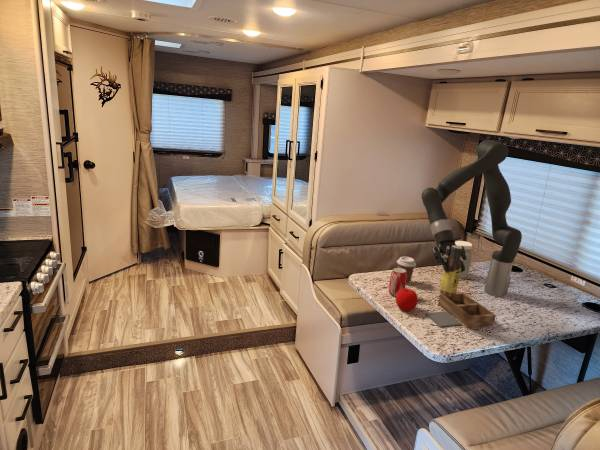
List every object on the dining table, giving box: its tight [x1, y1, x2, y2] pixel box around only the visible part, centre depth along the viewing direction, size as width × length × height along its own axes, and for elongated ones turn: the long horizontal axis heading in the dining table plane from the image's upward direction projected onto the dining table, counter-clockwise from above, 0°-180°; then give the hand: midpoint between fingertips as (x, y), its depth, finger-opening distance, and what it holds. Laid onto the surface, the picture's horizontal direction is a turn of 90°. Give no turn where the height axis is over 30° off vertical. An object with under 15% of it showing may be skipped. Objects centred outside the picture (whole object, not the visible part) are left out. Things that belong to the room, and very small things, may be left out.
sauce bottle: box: [439, 245, 463, 296], centre depth 154 cm, size 6×6×20 cm
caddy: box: [437, 292, 497, 329], centre depth 165 cm, size 12×20×5 cm, turn 16°
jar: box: [455, 240, 473, 280], centre depth 204 cm, size 10×10×18 cm
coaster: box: [424, 310, 462, 328], centre depth 160 cm, size 10×10×1 cm
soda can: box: [388, 267, 407, 297], centre depth 178 cm, size 7×7×12 cm
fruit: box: [395, 286, 419, 312], centre depth 166 cm, size 9×9×10 cm
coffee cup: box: [396, 256, 417, 285], centre depth 192 cm, size 9×9×12 cm
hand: (455, 271), depth 153 cm, fingers closed on sauce bottle, 6 cm apart
